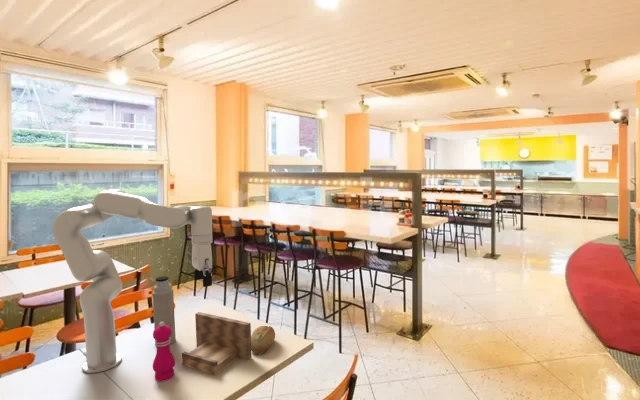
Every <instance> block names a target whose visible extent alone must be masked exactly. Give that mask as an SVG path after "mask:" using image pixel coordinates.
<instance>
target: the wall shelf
mask: <svg viewBox="0 0 640 400" xmlns="http://www.w3.org/2000/svg"><path fill="white" fill-rule="evenodd" d="M194 316H195V334H196V335H195V338H196V339H195V340H196V348H194V349H192V350H191V351H189V352H187V351H183V352H181V364H182V366H185V367H188V368H192V369H195V370H198V371H201V372H205V373H209V374H211V375H214V376H215V375H218V374H219V373H220V372H221V371H222V370H224V369H226V368H227V367H228V366H229V365H230V364H232V363H233V362H234V361H237V359H241V360H245V361H247V362H248V361H250V360H251V359H252V350H251V335H252V329H251V328H252V327H251V326H252V325H251V322H247V321H243V320H242V321H241V320H237V319H234V318H228V317H224V316H220V315H215V314H210V313H206V312H200V311H198V312H196V313H195V315H194Z"/></svg>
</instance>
